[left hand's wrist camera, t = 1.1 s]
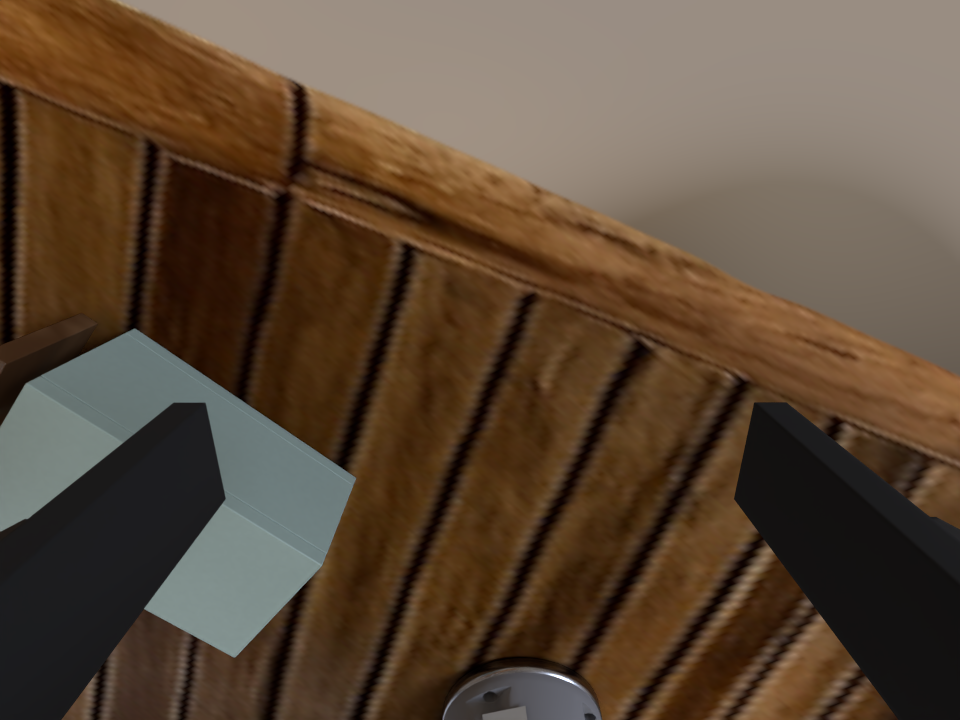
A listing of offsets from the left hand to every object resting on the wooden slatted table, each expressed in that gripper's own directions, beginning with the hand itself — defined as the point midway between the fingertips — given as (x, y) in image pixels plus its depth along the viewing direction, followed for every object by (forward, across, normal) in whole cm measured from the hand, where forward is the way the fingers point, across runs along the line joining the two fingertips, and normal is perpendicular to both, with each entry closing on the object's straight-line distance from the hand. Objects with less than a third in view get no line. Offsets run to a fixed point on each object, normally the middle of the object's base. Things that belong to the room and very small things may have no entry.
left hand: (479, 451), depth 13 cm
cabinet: (+24, +20, +15) cm, 35 cm away
